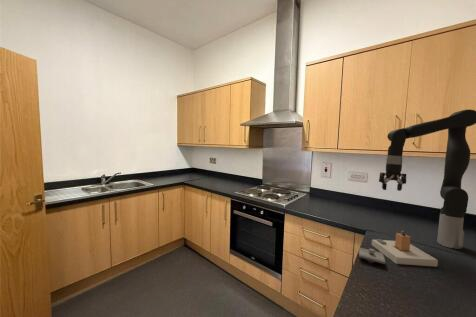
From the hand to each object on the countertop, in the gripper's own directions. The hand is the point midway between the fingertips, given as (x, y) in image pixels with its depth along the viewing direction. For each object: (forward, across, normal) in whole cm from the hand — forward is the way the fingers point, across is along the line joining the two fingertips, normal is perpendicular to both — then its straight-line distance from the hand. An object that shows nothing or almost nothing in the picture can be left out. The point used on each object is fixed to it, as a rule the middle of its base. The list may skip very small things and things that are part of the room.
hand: (391, 190), depth 121 cm
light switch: (+28, +28, +30) cm, 50 cm away
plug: (+28, +9, +23) cm, 37 cm away
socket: (+28, +9, +23) cm, 37 cm away
